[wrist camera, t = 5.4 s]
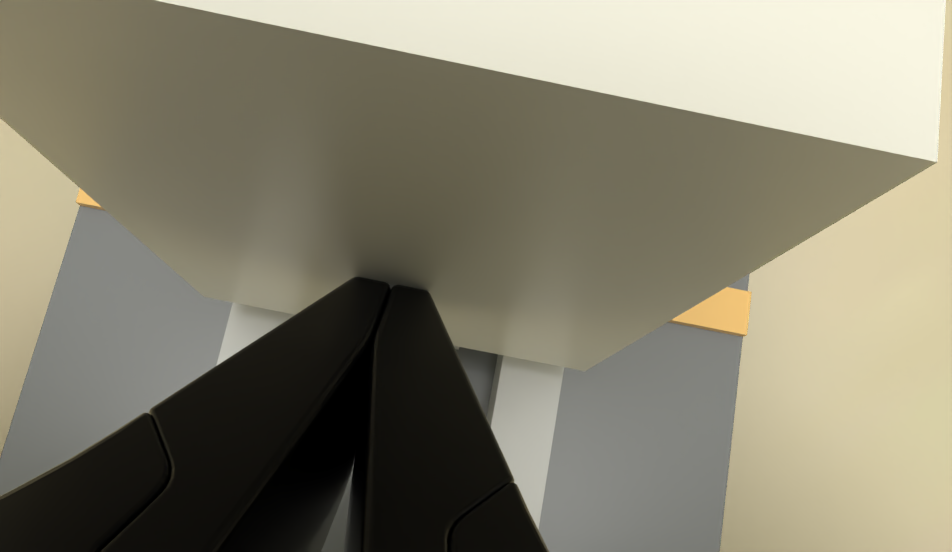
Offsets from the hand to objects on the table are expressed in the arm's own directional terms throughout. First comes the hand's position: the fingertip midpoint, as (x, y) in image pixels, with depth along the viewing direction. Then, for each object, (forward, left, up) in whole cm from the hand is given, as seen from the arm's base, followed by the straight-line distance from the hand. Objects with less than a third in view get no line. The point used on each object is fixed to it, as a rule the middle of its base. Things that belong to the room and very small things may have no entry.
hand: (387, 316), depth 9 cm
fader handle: (+2, +1, -5) cm, 5 cm away
